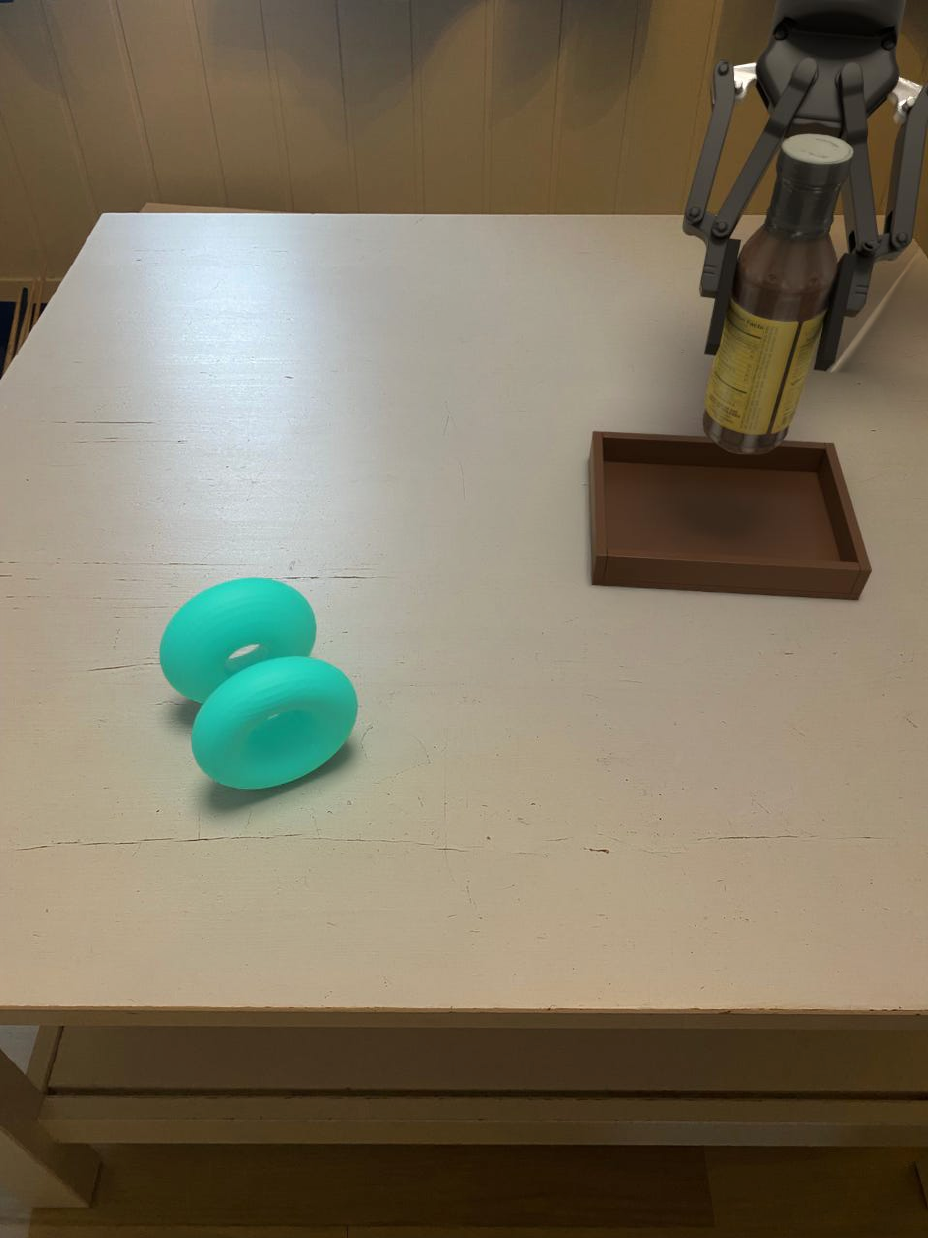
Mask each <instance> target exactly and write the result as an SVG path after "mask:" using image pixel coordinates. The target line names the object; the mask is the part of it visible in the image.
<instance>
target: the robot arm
mask: <svg viewBox="0 0 928 1238" xmlns="http://www.w3.org/2000/svg"><path fill="white" fill-rule="evenodd" d="M906 4H907V0H776V1H775V6H774V10H773V16H772V21H771V26H770V30H769V36H768V41H767V45H766V47H764V50H762V52H761V54H760V55H758V58H757V59H756V61H755V62H750V63H746V64H738V65H734V64H733V62H732V61H731V60H729V59H726V58H725V59H720V60H718V61H717V62H716V63H715V64H714V66H713V71H712V76H711V81H710V85H709V86H710V87H709V96H710V110H711V114H710V118H709V121H708V124H707V129H706V132H705V136H704V140H703V143H702V146H701V147H702V148H701V150H700V154H699V157H698V160H697V165H696V169H695V173H694V176H693V180H692V184H691V186H690V190H689V195H688V198H687V202H686V206H685V208H684V213H683V221H682V227H681V228H682V232H683V233H684V235H686V236H689V237H695V238H697V239H699V240H701V241H702V242H703V243H704V246H705V255H704V260H703V264H702V269H701V270H702V271H701V276H700V281H699V285H698V292H699V297H700V298H707V299H714V302H713V306H712V312H711V317H710V322H709V328H708V333H707V337H706V342H705V347H704V352H703V355H707V356H708V355H709V356H713V357H714V356H716V354H717V352H718V349H719V347H720V343H721V338H722V333H723V328H724V323H725V318H726V313H727V308H728V303H729V298H730V293H731V288H732V283H733V278H734V273H735V268H736V263H737V259H738V257H739V253H740V248H741V242H742V239H739V238H731V237H732V235H733V234H734V231H735V230H736V227H737V226H738V224H739V222H740V220H741V218H742V217H743V215H744V213H745V211H746V210H747V207H748V206H749V204H750V202H751V200H752V198H753V197H754V195H755V193H756V191H757V189H758V188H759V186H760V184H761V182H762V180H763V178H764V176H765V175H766V172H767V171H768V169H769V168H770V166H771V163H772V162H773V160H774V159H775V157H776V155H778V153H779V151H780V147H781V144H782V143H783V142H784V141H786V140H787V139H788V138H790V137H792V136H795V135H800V134H821V135H828V136H832V137H835V138H838V139H841V140H843V141H845V142H846V143H847V144H849V145H850V146H851V147H852V149H853V159H852V163H851V167H850V171H849V175H848V177H847V178H846V180H845V181H844V183H843V185H842V186H841V190H840V197H841V206H842V214H843V223H844V230H845V231H844V232H845V240H846V247H847V252H843V254H842V256H841V257H840V258H839V260H838V261H837V272H836V278H835V282H834V283H833V286H832V290H831V293H830V297H829V305H828V308H827V312H826V315H825V318H824V321H823V324H822V328H821V331H820V335H819V341H818V344H817V345H818V346H817V351H816V355H815V360H814V365H813V371H819V372H827V371H828V370H829V369H830V368H831V367H832V366H833V365H834V364H835V363H836V360H837V354H838V349H839V345H840V340H841V335H842V332H843V331H842V330H843V326H844V320H845V317H846V318H853V319H855V318H856V317H857V316H858V315H859V314H860V313H861V311H862V309H864V307H865V305H866V302H867V299H868V298H867V297H868V294H869V288H870V283H871V279H872V275H873V269H874V266H875V264H877V263H880V262H884V261H886V262H894V261H896V260H897V259H898V258H899V257H900V256H901V255H902V254H903V252H904V251H905V250H906V249H907V248H908V247H909V246H910V244H911V243H912V242H913V238H914V230H915V224H916V216H917V207H918V200H919V193H920V186H921V177H922V170H923V163H924V162H923V161H924V157H925V156H924V155H925V147H926V140H927V133H928V81H926V82H925V83H924V84H923V85H922V84H919V83H917V82H914V81H912V80H909V79H907V78H904V77H902V76H901V72H900V67H899V64H898V60H897V45H898V41H899V36H900V31H901V27H902V22H903V18H904V12H905V8H906ZM753 87H755V89H756V91H757V93H758V95H759V97H760V99H761V101H762V103H763V105H764V107H765V109H766V112H767V114H768V116H769V118H768V120H767V122H766V124H765V126H764V128H763V130H762V132H761V134H760V135H759V138H758V140H757V141H756V142H755V145H754V147H753V148H752V150H751V152H750V154H749V155H748V158H747V160H745V163H744V165H743V167H742V168H741V170H740V172H739V174H738V176H737V178H736V180H735V181H734V183H733V185H732V187H731V189H730V190H729V192H728V194H727V195H726V198H725V200H724V202H723V204H722V205H721V206H720V209H719V211H718V212H717V214H714V213H712V212H710V211H709V210H707V209H708V205H709V201H710V197H711V193H712V190H713V186H714V182H715V179H716V174H717V171H718V168H719V165H720V162H721V157H722V153H723V151H724V146H725V142H726V139H727V136H728V132H729V129H730V125H731V121H732V115H733V112H734V108H737V107H739V106H741V105H742V104H743V103H744V101H745V99H746V95H747V92H748V90H749V89H751V88H753ZM886 101H888V102H891V103H892V105H893V112H892V119H893V121H894V123H895V124H896V125H897V126H900V127H899V128H898V131H897V133H896V136H895V142H894V146H893V152H892V153H893V154H892V160H891V161H892V162H891V168H890V176H889V183H888V184H889V185H888V192H887V199H886V206H885V214H884V223H883V228H882V229H883V230H882V233H881V234H879V230H878V220H877V213H876V205H875V204H876V203H875V196H874V187H873V180H872V179H873V178H872V171H871V162H870V154H869V146H868V136H869V125H868V119H869V118H870V117H871V116H872V115H873V114H874V113H875V112H876V111H877V110H878V109H879V108H880V107H881V106H882V105H883V104H884V103H885V102H886Z"/></svg>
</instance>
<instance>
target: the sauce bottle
mask: <svg viewBox="0 0 928 1238" xmlns="http://www.w3.org/2000/svg"><path fill="white" fill-rule="evenodd" d="M852 159H853V149H852V147H851V146H850V145H849V144H847V143H846V142H845V141H843V140H841V139H838V138H835V137H832V136H828V135H821V134H800V135H795V136H792V137H790V138H788V139H785V140H784V141H783V143H782V144H781V147H780V149H779V150H778V153H777V158H776V163H775V172H776V177H775V181H774V185H773V190H772V195H771V199H770V202H769V206H768V208H767V209H766V213H765V219H764V222H763V224H762V225H760V227H759V228H757V229H756V230H755V232H754V233H753V234H752V235H751V236H750V237H749V238H748V239H747V240H746V242H745V243H744V244H743V245H742V247H741V249H740V251H739V253H738V258H737V263H736V268H735V273H734V278H733V283H732V288H731V293H730V298H729V303H728V308H727V313H726V318H725V323H724V328H723V333H722V338H721V343H720V347H719V349H718V352H717V354H716V356H714V355H713V361H712V365H711V370H710V373H709V378H708V383H707V387H706V391H705V396H704V410H703V414H702V429H703V432H704V434H705V436H706V437H708V438H710V439H711V440H712V441H713V442H714V443H716V444H717V445H719V446H720V447H722V448H724V449H725V450H727V451H729V452H733V453H737V454H762V453H766V452H769V451H771V450H772V449H774V448H776V447H777V446H778V445H779V444H780V443H781V442H782V441H783V440H784V441H785V440H786V437H787V435H788V433H789V427H790V424H791V423H792V421H793V419H794V417H795V414H796V412H797V411H796V410H797V409H798V404H799V401H800V398H801V394H802V392H803V388H804V385H805V382H806V379H807V375H808V372H809V368H810V366H811V362H812V359H813V356H814V353H815V349H816V347H817V345H818V340H819V338H820V335H821V331H822V326H823V321H824V318H825V315H826V312H827V308H828V305H829V297H830V293H831V290H832V286H833V283H834V282H835V278H836V272H837V263H838V256H837V252H836V249H835V245H834V244H833V241H832V237H831V234H830V232H831V227H832V226H833V223H834V221H835V219H834V218H835V217H834V214H835V210H836V207H837V203H838V200H839V196H840V194H841V186H842V185H843V183H844V181H845V180H846V178H847V177H848V175H849V171H850V167H851V163H852Z"/></svg>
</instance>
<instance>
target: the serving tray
mask: <svg viewBox="0 0 928 1238" xmlns="http://www.w3.org/2000/svg"><path fill="white" fill-rule="evenodd" d="M588 480H589V481H588V483H589V485H588V487H589V522H590V523H589V524H590V525H589V526H590V528H589V529H590V563H591V564H590V565H591V566H590V567H591V584H592V585H595V586H596V585H597V586H616V587H631V588H648V589H650V588H651V589H664V590H666V589H668V590H682V591H683V590H684V591H700V592H717V593H718V592H720V593H734V594H735V593H736V594H752V595H753V594H756V595H770V596H771V595H772V596H788V597H789V596H790V597H805V598H823V599H842V600H859V599H860V597H861V595H862V593H863V591H864V589H865V586H866V584H867V583H868V580H869V578H870V576H871V574H872V572H873V568H872V565H871V563H870V562H871V561H870V559H869V556H868V555H869V554H868V551H867V549H866V545H865V542H864V538H863V536H862V533H861V532H862V531H861V529H860V526H859V523H858V519H857V516H856V512H855V509H854V505H853V502H852V499H851V495H850V492H849V488H848V486H847V482H846V479H845V475H844V473H843V469H842V466H841V463H840V459H839V456H838V452H837V449H836V446H835V442H825V441H824V442H823V441H821V442H820V441H803V440H800V441H799V440H785V439H784V440H783V441H782V442H781V443H780V444H779V445H778V446H777V447H776V448H774V449H772V450H771V451H769V452H766V453H762V454H737V453H733V452H729V451H727V450H725V449H724V448H722V447H720V446H719V445H717V444H716V443H714V442H713V441H712V440H711V439H710V438H708V437H707V436H706V435H705V436H704V435H703V436H701V435H683V434H682V435H681V434H666V433H665V434H664V433H663V434H662V433H644V432H643V433H642V432H641V433H640V432H624V431H623V432H622V431H621V432H620V431H606V430H605V431H599V430H593V431H592V435H591V441H590V448H589V456H588Z"/></svg>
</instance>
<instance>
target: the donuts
mask: <svg viewBox="0 0 928 1238" xmlns="http://www.w3.org/2000/svg"><path fill="white" fill-rule="evenodd" d="M317 626H318V625H317V620H316V615H315V613H314V609H313V608H312V606H311V604H310V603H309V601H308V600H307V598H306V597H305V596H304V595H303V594H302V593H301V592H300V591H298V590H297V589H296V588H295V587H293V586H291V585H289V584H287V583H285V582H282V581H280V580H276V579H273V578H268V577H257V576H256V577H240V578H235V579H230V580H228V581H224V582H221V583H218V584H215V585H212V586H210V587H209V588H206V589H204V590H202V591H200V592H198V593H197V594H196V595H194V596H193V597H191V598H190V599H189V600H188V601H186V602H185V603H184V604H183V605H182V606H181V607H180V608H179V609H178V610H177V611H176V613H174V615H173V616H172V617H171V618H170V620H169V621H168V622H167V625H166V627H165V629H164V631H163V633H162V637H161V639H160V642H159V643H160V644H159V651H158V652H159V654H158V655H159V664H160V668H161V670H162V673H163V676H164V677H165V679H166V681H167V682H168V683H169V684H170V686H171V687H172V688H173V689H174V690H175V691H176V692H178V693H179V694H180V695H182V696H183V697H185V698H187V699H188V700H191V701H194V702H196V703H200V704H201V705H202V706H200V709H199V711H198V713H197V714H196V717H195V719H194V722H193V725H192V730H191V735H190V736H191V737H190V741H191V742H190V743H191V750H192V754H193V757H194V760H195V762H196V764H197V765H198V767H199V768H200V770H202V772H203V773H204V774H205V775H206V776H207V777H209V778H210V779H212V780H213V781H215V782H216V783H218V784H220V785H223V786H226V787H229V788H233V789H240V790H261V789H269V788H273V787H274V788H275V787H278V786H282V785H285V784H288V783H290V782H293V781H296V780H298V779H300V778H302V777H304V776H306V775H308V774H310V773H311V772H313V771H315V770H316V769H318V768H320V767H321V766H322V765H323V764H325V763H327V761H329V760H330V759H331V758H332V757H333V756H334V755H335V754H336V753H338V751H339V750H340V749H341V748H342V747H343V745H345V743H346V741H347V740H348V739H349V736H350V735H351V733H352V731H353V729H354V727H355V725H356V722H357V718H358V717H357V716H358V711H359V710H358V709H359V703H358V702H359V701H358V697H357V692H356V689H355V687H354V684H353V683H352V681H351V680H350V678H349V677H348V676H347V675H346V674H345V673H344V671H342V670H341V669H340V668H338V667H337V666H335V665H333V664H331V663H330V662H328V661H325V660H322V659H319V658H315V657H311V654H312V652H313V649H314V647H315V644H316V638H317V629H318V627H317ZM255 645H256V647H254V649H252V650H250V651H249V652H247V653H244V654H242V655H238V656H235V657H232V655H233V654H234V653H236V652H238V651H239V650H241V649H244V648H246V647H250V646H255ZM257 645H258V646H257Z"/></svg>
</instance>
